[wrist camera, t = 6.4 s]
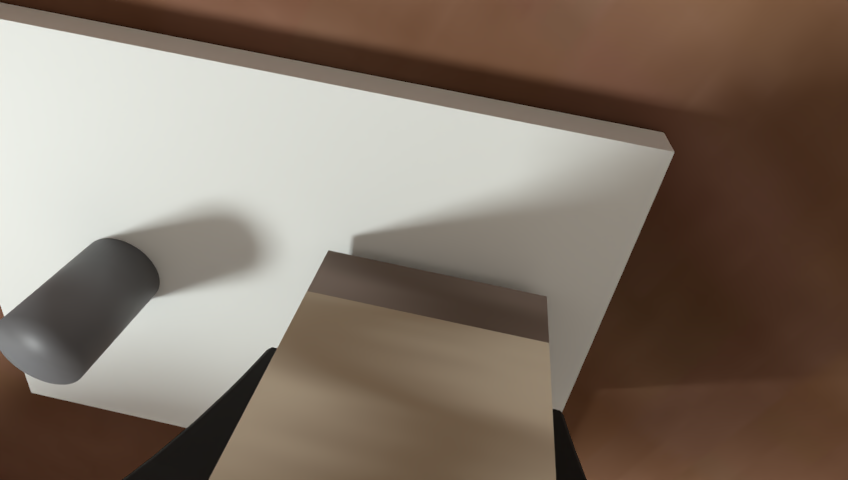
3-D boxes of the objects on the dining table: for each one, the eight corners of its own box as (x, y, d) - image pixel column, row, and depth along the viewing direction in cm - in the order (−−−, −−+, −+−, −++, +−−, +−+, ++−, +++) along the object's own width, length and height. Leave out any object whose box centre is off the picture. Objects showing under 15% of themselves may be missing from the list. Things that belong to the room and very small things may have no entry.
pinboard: (53, 370, 19) (-48, 475, 16) (-66, -11, 12) (-286, 30, 9) (522, 475, 18) (522, 609, 15) (664, 132, 12) (719, 233, 8)
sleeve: (319, 396, 16) (221, 643, 11) (328, 250, 13) (201, 491, 8) (497, 436, 15) (484, 707, 10) (546, 296, 13) (561, 574, 8)
